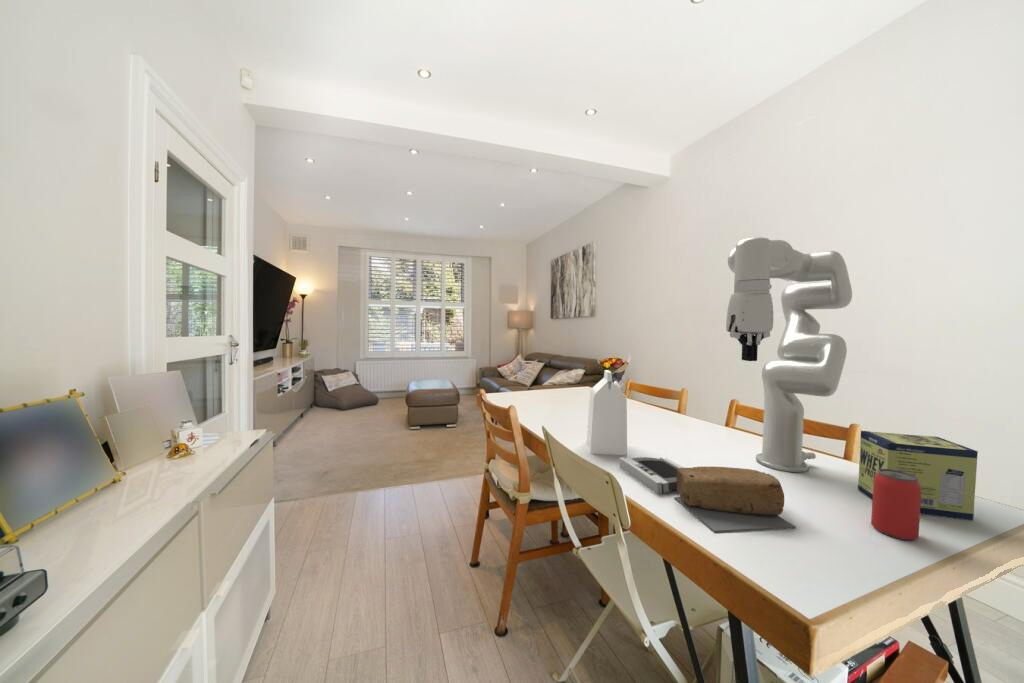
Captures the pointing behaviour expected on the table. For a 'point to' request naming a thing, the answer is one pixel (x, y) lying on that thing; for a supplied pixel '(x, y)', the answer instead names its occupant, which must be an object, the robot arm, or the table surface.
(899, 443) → the protein box
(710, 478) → the block
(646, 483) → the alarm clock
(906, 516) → the beer can
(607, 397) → the milk
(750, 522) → the mat
